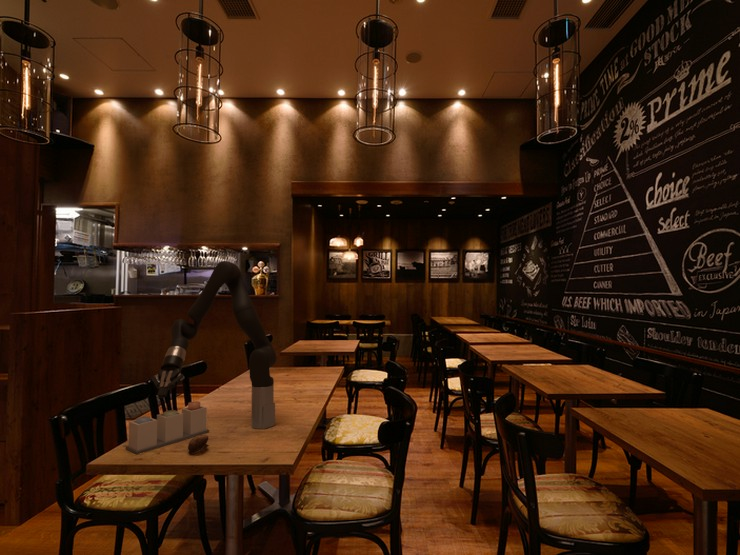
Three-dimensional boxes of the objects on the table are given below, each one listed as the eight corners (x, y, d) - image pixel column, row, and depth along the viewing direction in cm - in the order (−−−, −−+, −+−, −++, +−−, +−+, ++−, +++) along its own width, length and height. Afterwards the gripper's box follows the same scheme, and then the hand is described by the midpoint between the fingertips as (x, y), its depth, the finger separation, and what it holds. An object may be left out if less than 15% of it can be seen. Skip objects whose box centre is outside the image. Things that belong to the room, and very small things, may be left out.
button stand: (209, 432, 163) (209, 407, 163) (136, 454, 140) (137, 425, 140) (197, 428, 168) (197, 404, 168) (125, 449, 145) (126, 421, 146)
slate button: (152, 426, 147) (152, 417, 147) (139, 429, 143) (139, 421, 143) (146, 423, 149) (146, 415, 150) (133, 427, 146) (133, 418, 146)
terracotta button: (202, 409, 163) (202, 402, 163) (192, 412, 159) (192, 404, 159) (196, 408, 166) (196, 400, 166) (185, 410, 162) (185, 403, 162)
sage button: (178, 419, 155) (178, 411, 155) (167, 422, 151) (167, 414, 151) (172, 417, 158) (172, 409, 158) (161, 420, 154) (161, 412, 154)
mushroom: (217, 438, 147) (206, 426, 145) (210, 454, 139) (198, 442, 137) (200, 447, 148) (189, 435, 146) (191, 463, 140) (180, 452, 138)
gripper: (154, 354, 160) (139, 392, 148) (188, 353, 162) (176, 391, 149) (160, 365, 165) (146, 403, 153) (192, 364, 167) (181, 401, 154)
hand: (161, 397), depth 151 cm, fingers closed
